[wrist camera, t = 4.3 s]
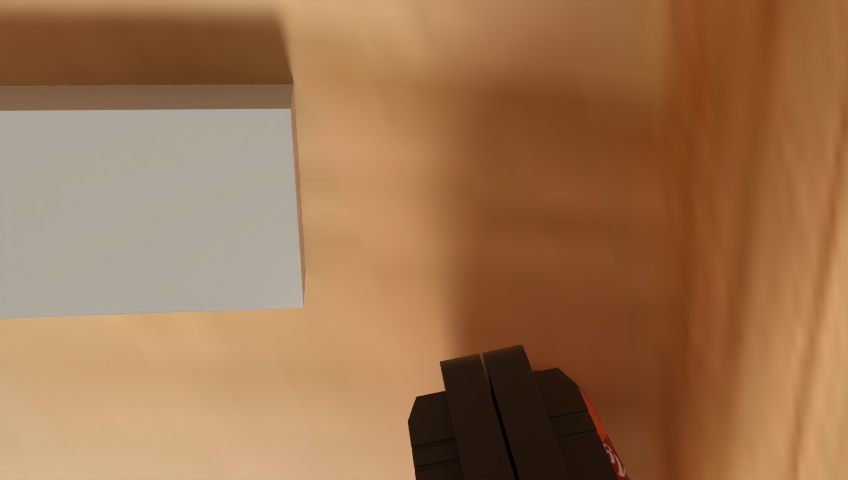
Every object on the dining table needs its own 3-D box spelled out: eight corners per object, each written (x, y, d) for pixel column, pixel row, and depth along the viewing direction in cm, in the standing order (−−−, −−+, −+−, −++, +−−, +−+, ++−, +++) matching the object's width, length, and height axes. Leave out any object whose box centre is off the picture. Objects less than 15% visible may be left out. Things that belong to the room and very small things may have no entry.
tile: (294, 79, 23) (290, 109, 20) (305, 266, 26) (303, 307, 24) (-193, 80, 21) (-252, 112, 19) (-109, 278, 25) (-150, 324, 23)
